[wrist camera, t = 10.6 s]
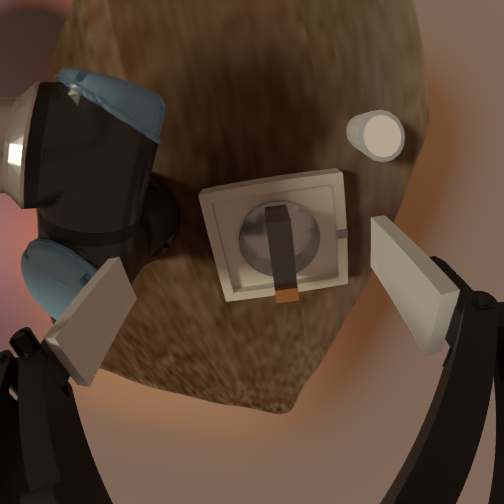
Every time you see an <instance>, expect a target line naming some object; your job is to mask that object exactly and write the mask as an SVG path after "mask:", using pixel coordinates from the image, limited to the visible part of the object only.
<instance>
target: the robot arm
mask: <svg viewBox="0 0 504 504" xmlns="http://www.w3.org/2000/svg"><path fill="white" fill-rule="evenodd" d="M55 80H57V82H37V83H35V85H33V86H32V87H31V88H30V89H28V90H27V91H26V92H25V93H24V94H23V95H21V96H19V97H18V98H0V193H6V194H8V195H9V196H10V197H11V198H12V199H13V200H14V201H15V202H16V204H17V205H18V206H19V207H20V208H21V209H30V208H39V221H38V228H39V233H38V238H37V239H35V240H33V241H31V242H30V243H29V244H28V247H27V249H26V250H25V251H24V253H23V255H22V259H21V270H22V275H23V278H24V281H25V284H26V286H27V288H28V290H29V291H30V293H31V294H32V296H33V298H34V299H35V300H36V301H37V303H38V304H39V305H40V306H41V307H42V308H43V309H44V310H45V311H46V312H47V313H48V314H49V315H51V316H52V317H53V318H55V319H56V320H57V321H56V322H55V324H54V325H53V326H52V328H51V329H50V330H49V332H48V333H47V335H46V336H45V337H44V339H43V341H42V342H41V344H40V343H39V341H38V340H37V338H36V337H35V335H34V334H33V332H32V330H31V329H30V328H29V327H25V328H22V329H20V330H19V331H18V332H16V333H15V334H14V335H13V336H12V338H11V339H10V342H9V343H10V345H11V346H12V348H13V349H14V351H15V352H16V353H17V355H18V356H19V357H17V358H15V357H14V356H13V354H12V353H11V351H9V350H4V351H3V352H0V504H113V503H112V501H111V499H110V497H109V495H108V492H107V490H106V488H105V486H104V484H103V481H102V479H101V477H100V474H99V472H98V470H97V467H96V465H95V462H94V459H93V457H92V454H91V451H90V448H89V446H88V443H87V440H86V437H85V434H84V430H83V427H82V424H81V421H80V417H79V414H78V410H77V406H76V402H75V398H74V394H73V390H72V387H71V385H70V383H69V382H68V379H69V377H70V376H71V377H72V378H73V380H74V381H75V382H76V383H77V385H82V386H90V385H91V383H92V381H93V379H94V377H95V375H96V373H97V371H98V369H99V367H100V365H101V363H102V361H103V359H104V357H105V355H106V353H107V351H108V350H109V348H110V346H111V344H112V342H113V340H114V338H115V336H116V335H117V333H118V331H119V329H120V327H121V326H122V324H123V322H124V320H125V318H126V317H127V315H128V313H129V311H130V310H131V308H132V306H133V304H134V303H135V301H136V299H137V298H136V296H135V293H134V291H133V289H132V286H131V284H132V283H133V281H134V280H135V278H136V276H137V275H138V273H139V272H140V270H141V269H142V268H143V266H144V265H146V264H148V263H150V262H152V261H155V260H157V259H158V258H160V257H161V256H163V255H164V254H165V253H166V252H167V251H168V249H169V248H170V247H171V245H172V244H173V242H174V240H175V238H176V236H177V234H178V230H179V225H180V215H179V209H178V205H177V202H176V200H175V198H174V196H173V194H172V193H171V191H170V190H169V189H168V187H167V186H166V185H165V184H164V183H163V182H162V181H160V180H159V179H158V178H156V177H154V176H152V175H151V171H152V167H153V163H154V159H155V156H156V152H157V148H158V145H160V143H161V140H160V134H161V130H162V126H163V122H164V118H165V114H166V105H165V102H164V100H163V98H162V97H161V96H160V95H158V94H157V93H155V92H153V91H151V90H149V89H146V88H144V87H141V86H138V85H136V84H133V83H130V82H127V81H124V80H121V79H118V78H114V77H111V76H107V75H103V74H99V73H95V72H89V71H84V70H80V69H76V68H69V67H66V68H63V69H61V70H60V72H59V73H58V74H57V75H56V78H55ZM371 268H372V269H373V271H374V272H375V274H376V275H377V277H378V278H379V280H380V282H381V283H382V285H383V286H384V288H385V290H386V291H387V293H388V294H389V296H390V297H391V299H392V301H393V302H394V304H395V306H396V307H397V309H398V311H399V312H400V314H401V316H402V318H403V319H404V321H405V323H406V324H407V326H408V328H409V330H410V332H411V333H412V335H413V337H414V339H415V340H416V342H417V344H418V346H419V348H420V349H421V352H422V353H423V355H424V357H425V356H429V355H432V354H435V353H438V352H441V350H442V348H443V345H444V342H445V339H446V341H447V343H448V344H449V346H450V349H449V351H448V353H447V356H446V359H445V361H444V364H443V367H444V368H443V371H442V374H441V377H440V380H439V384H438V386H437V389H436V392H435V395H434V397H433V400H432V403H431V405H430V408H429V411H428V413H427V416H426V418H425V421H424V423H423V425H422V427H421V430H420V432H419V434H418V436H417V438H416V441H415V443H414V445H413V447H412V449H411V451H410V453H409V455H408V457H407V459H406V461H405V463H404V464H403V466H402V468H401V470H400V472H399V473H398V475H397V477H396V479H395V480H394V482H393V484H392V485H391V487H390V489H389V490H388V492H387V494H386V495H385V497H384V498H383V500H382V501H381V503H380V504H456V502H457V500H458V498H459V496H460V493H461V491H462V489H463V487H464V484H465V481H466V479H467V477H468V474H469V471H470V469H471V466H472V463H473V460H474V457H475V454H476V451H477V448H478V445H479V442H480V438H481V435H482V431H483V427H484V423H485V419H486V415H487V410H488V406H489V401H490V395H491V389H492V384H493V377H494V385H495V400H496V447H495V461H494V472H493V479H492V486H491V493H490V498H489V504H504V302H497V301H496V299H495V298H494V297H493V296H491V295H490V294H489V293H486V292H483V291H473V290H472V289H471V288H470V287H469V286H468V285H467V284H466V283H465V281H464V280H463V279H461V277H460V276H459V275H458V274H456V272H455V271H454V270H453V269H451V267H450V266H449V265H448V264H447V263H446V262H445V261H443V260H441V259H440V258H438V257H436V256H432V257H428V256H427V255H426V254H425V253H424V252H423V251H422V250H421V249H420V248H419V247H418V246H417V245H416V244H415V243H414V242H413V241H412V240H411V239H410V238H409V237H408V236H407V235H406V234H405V233H404V232H403V231H401V230H400V229H399V228H398V227H397V226H396V225H395V224H394V223H393V222H392V221H390V220H389V219H388V218H387V217H386V216H385V215H384V216H376V217H371ZM10 388H11V389H12V390H13V392H14V393H15V394H16V395H17V396H18V399H17V400H15V399H14V398H13V397H12V396H11V395H10V393H9V389H10Z"/></svg>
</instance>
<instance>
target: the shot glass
mask: <svg viewBox="0 0 504 504" xmlns="http://www.w3.org/2000/svg"><path fill="white" fill-rule="evenodd" d="M346 134H347V138H348V141H349V142H350V143H351V145H352V146H353V147H355V148H356V149H358V150H359V151H361V152H362V153H364V154H365V155H367V156H368V157H370V158H371V159H373V160H374V161H380V162H386V161H390V160H393V159H394V158H395V157H397V156H398V155H399V154H400V152H401V151H402V149H403V147H404V141H405V133H404V129H403V126H402V124H401V123H400V121H399V119H398V118H397V117H396V116H394V115H393V114H392V113H390V112H388V111H384V110H376V111H371V112H367V113H363V114H360V115H356V116H355V117H353V118H352V119H351V120H350V121H349V123H348V125H347V130H346Z"/></svg>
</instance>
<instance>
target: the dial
mask: <svg viewBox="0 0 504 504" xmlns="http://www.w3.org/2000/svg"><path fill="white" fill-rule="evenodd" d="M319 246H320V231H319V227H318V225H317V223H316V221H315V219H314V217H313V216H312V215H311V213H310V212H309V211H308V210H306V209H305V208H304V207H302V206H301V205H299V204H297V203H294V202H291V201H285V200H276V201H270V202H266V203H264V204H261V205H259V206H258V207H256V208H255V209H253V210H252V211H251V212H250V213H249V214H248V215H247V216H246V218H245V219H244V221H243V223H242V225H241V228H240V233H239V248H240V251H241V254H242V256H243V258H244V259H245V261H246V262H247V263H248V264H249V265H250V266H251V267H252V268H253V269H255V270H256V271H258V272H260V273H262V274H264V275H268V276H273V280H274V287H275V296H276V303H282V302H290V301H298V300H299V296H298V286H297V277H296V273H297V272H299V271H301V270H303V269H304V268H306V267H307V266H308V265H309V264H310V263H311V262H312V261H313V259H314V258H315V256H316V254H317V252H318V249H319Z"/></svg>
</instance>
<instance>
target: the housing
mask: <svg viewBox="0 0 504 504" xmlns="http://www.w3.org/2000/svg"><path fill="white" fill-rule="evenodd" d="M198 197H199V201H200V205H201V209H202V213H203V217H204V221H205V225H206V229H207V232H208V236H209V240H210V244H211V248H212V252H213V255H214V259H215V263H216V267H217V270H218V274H219V278H220V281H221V285H222V288H223V292H224V295H225V299H226V302H227V301H235V300H243V299H251V298H258V297H266V296H273V295H275V287H274V280H273V276H268V275H264V274H262V273H260V272H258V271H256V270H255V269H253V268H252V267H251V266H250V265H249V264H248V263H247V262H246V261H245V259H244V258H243V256H242V254H241V251H240V248H239V233H240V228H241V225H242V223H243V221H244V219H245V218H246V216H247V215H248V214H249V213H250V212H251V211H252V210H253V209H255V208H256V207H258V206H259V205H261V204H264V203H266V202H270V201H276V200H285V201H291V202H294V203H297V204H299V205H301V206H302V207H304V208H305V209H306V210H308V211H309V212H310V213H311V215H312V216H313V217H314V219H315V221H316V223H317V225H318V227H319V231H320V246H319V249H318V252H317V254H316V256H315V258H314V259H313V261H312V262H311V263H310V264H309V265H308V266H307V267H306V268H304V269H303V270H301V271H299V272H297V273H296V277H297V286H298V292H300V291H306V290H313V289H319V288H325V287H331V286H337V285H343V284H348V250H347V238H348V230H347V224H346V207H345V193H344V181H343V172H341V171H340V170H338V169H337V168H332V169H323V170H315V171H307V172H300V173H293V174H286V175H279V176H272V177H266V178H260V179H254V180H248V181H242V182H237V183H231V184H226V185H220V186H215V187H210V188H205V189H202V191H201V192H200V193H199V195H198Z"/></svg>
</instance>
